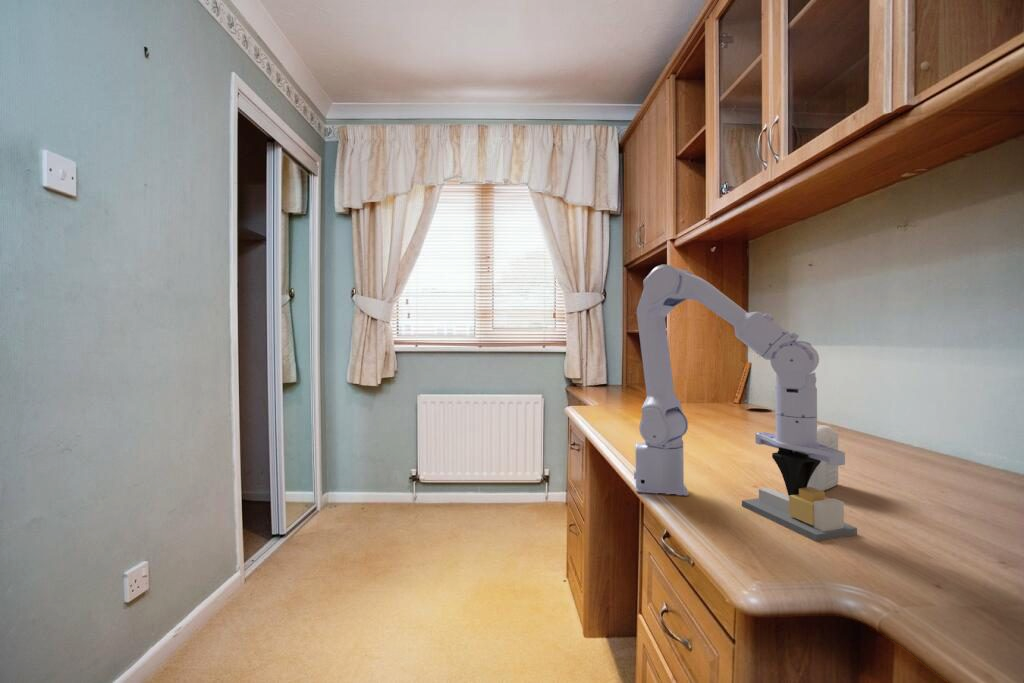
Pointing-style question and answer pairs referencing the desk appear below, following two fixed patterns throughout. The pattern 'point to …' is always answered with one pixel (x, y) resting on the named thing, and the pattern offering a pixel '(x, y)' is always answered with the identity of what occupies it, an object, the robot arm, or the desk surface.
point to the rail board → (825, 520)
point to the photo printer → (825, 472)
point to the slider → (805, 504)
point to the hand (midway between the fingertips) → (796, 497)
